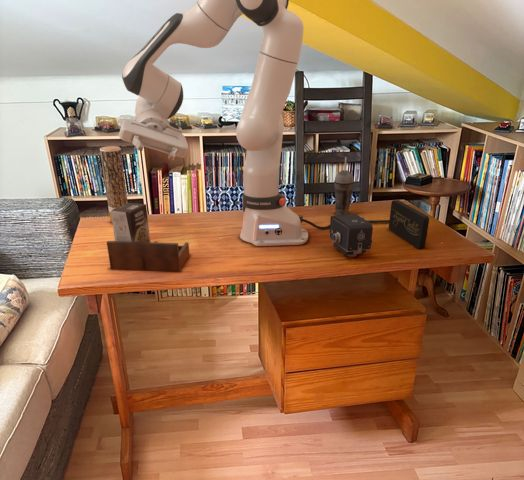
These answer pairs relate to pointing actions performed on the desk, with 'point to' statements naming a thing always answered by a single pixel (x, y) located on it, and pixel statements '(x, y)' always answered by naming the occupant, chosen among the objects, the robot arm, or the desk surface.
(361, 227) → the camera
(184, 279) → the desk surface
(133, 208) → the coffee box
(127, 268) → the dark brown wooden box
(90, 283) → the desk surface
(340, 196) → the beverage cup
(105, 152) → the wooden log
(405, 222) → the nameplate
